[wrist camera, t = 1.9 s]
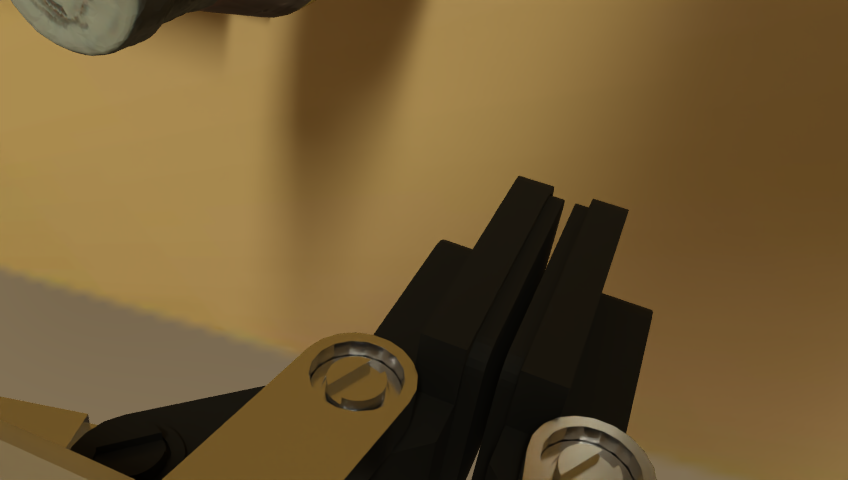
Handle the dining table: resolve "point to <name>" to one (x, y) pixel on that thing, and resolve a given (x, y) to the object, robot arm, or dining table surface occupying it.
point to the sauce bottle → (128, 18)
